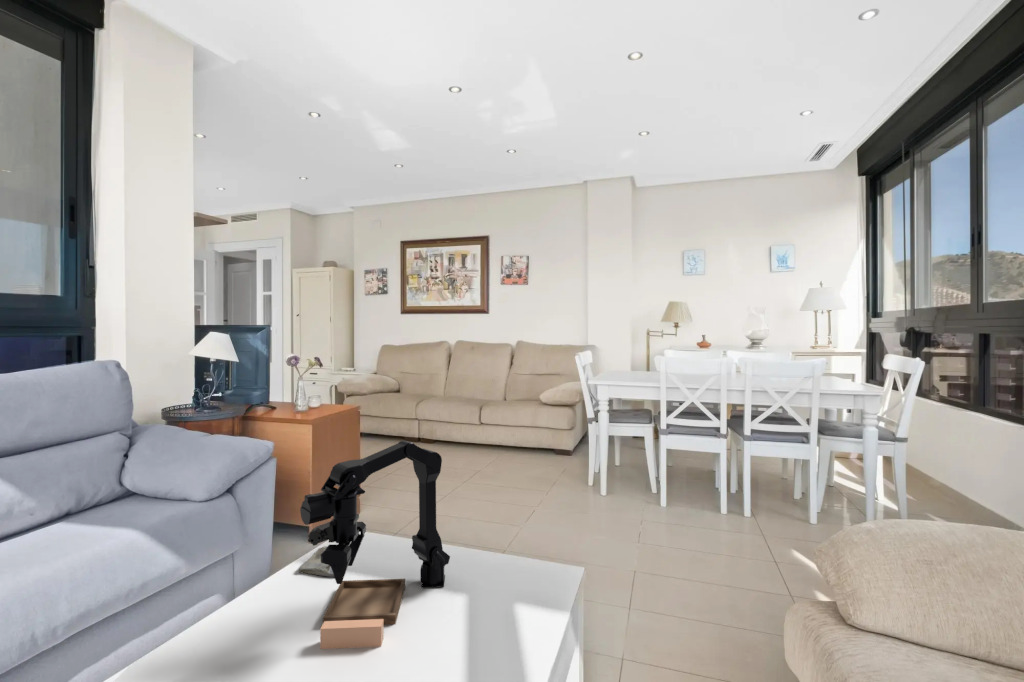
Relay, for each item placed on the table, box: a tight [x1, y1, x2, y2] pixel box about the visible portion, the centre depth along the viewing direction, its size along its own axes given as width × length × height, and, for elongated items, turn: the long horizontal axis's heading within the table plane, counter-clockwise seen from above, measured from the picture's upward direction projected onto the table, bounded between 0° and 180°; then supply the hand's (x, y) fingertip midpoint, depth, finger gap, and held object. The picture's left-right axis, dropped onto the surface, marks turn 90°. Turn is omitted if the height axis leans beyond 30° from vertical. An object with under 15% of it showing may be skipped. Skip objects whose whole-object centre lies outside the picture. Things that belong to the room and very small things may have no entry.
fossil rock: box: [298, 545, 335, 578], centre depth 155 cm, size 18×15×2 cm
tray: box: [322, 578, 406, 625], centre depth 132 cm, size 18×18×2 cm
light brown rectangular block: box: [319, 619, 385, 650], centre depth 116 cm, size 14×3×5 cm, turn 94°
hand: (344, 574), depth 124 cm, fingers open, 9 cm apart
